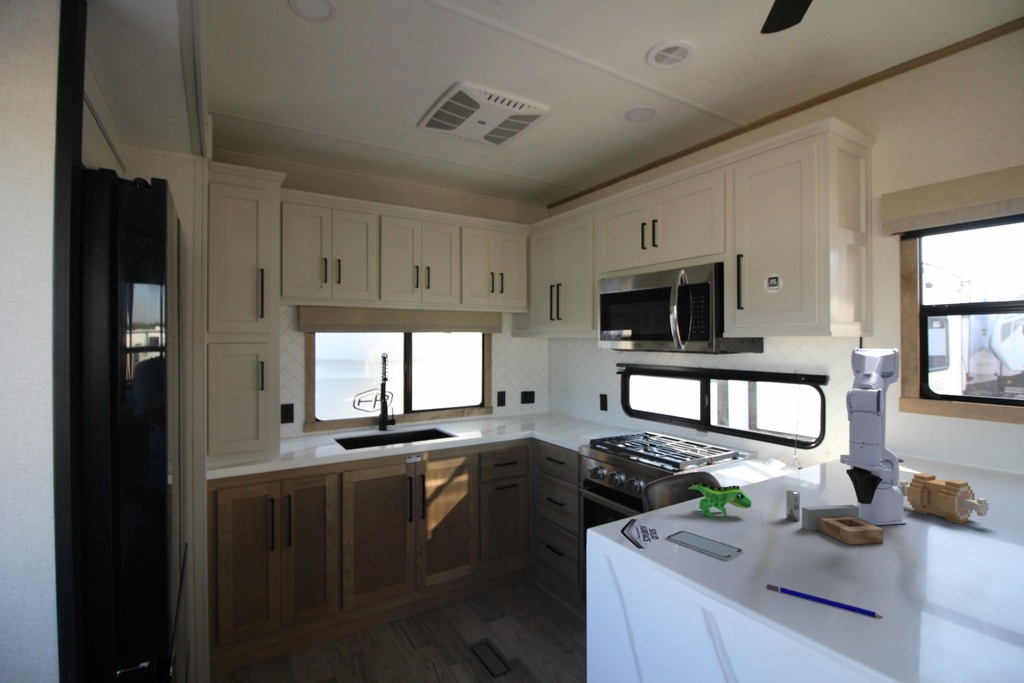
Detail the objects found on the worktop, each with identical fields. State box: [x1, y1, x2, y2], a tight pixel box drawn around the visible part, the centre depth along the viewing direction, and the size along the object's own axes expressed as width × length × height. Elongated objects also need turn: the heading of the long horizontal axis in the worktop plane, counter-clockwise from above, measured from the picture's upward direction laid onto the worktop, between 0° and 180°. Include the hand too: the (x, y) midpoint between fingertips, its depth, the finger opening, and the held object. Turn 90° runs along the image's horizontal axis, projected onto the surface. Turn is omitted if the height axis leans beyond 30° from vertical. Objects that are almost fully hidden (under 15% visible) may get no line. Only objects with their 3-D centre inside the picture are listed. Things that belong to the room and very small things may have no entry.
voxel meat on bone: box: [896, 472, 989, 524], centre depth 129 cm, size 10×18×10 cm, turn 24°
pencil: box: [766, 583, 883, 619], centre depth 84 cm, size 17×1×1 cm, turn 54°
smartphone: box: [665, 530, 744, 562], centre depth 108 cm, size 7×1×15 cm
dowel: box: [785, 489, 801, 522], centre depth 125 cm, size 3×3×7 cm
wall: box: [801, 504, 859, 531], centre depth 119 cm, size 14×2×5 cm, turn 99°
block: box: [816, 516, 885, 546], centre depth 114 cm, size 9×9×3 cm
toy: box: [687, 482, 752, 518], centre depth 128 cm, size 6×16×10 cm, turn 78°
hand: (864, 503), depth 109 cm, fingers closed
